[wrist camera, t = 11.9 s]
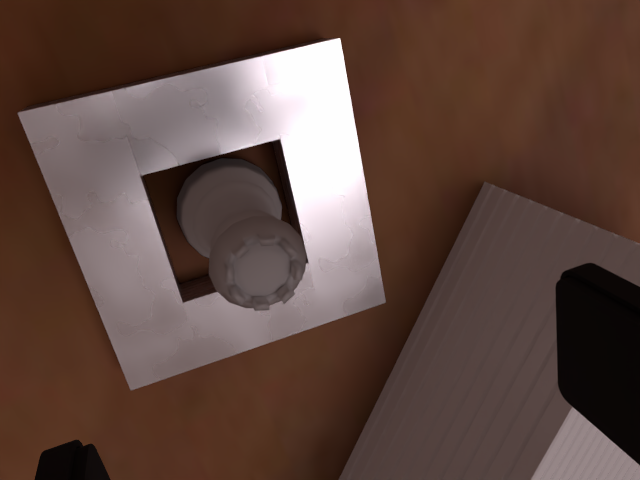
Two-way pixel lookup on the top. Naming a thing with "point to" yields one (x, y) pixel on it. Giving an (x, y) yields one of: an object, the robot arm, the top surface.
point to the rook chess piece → (241, 233)
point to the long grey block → (494, 359)
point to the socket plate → (192, 145)
